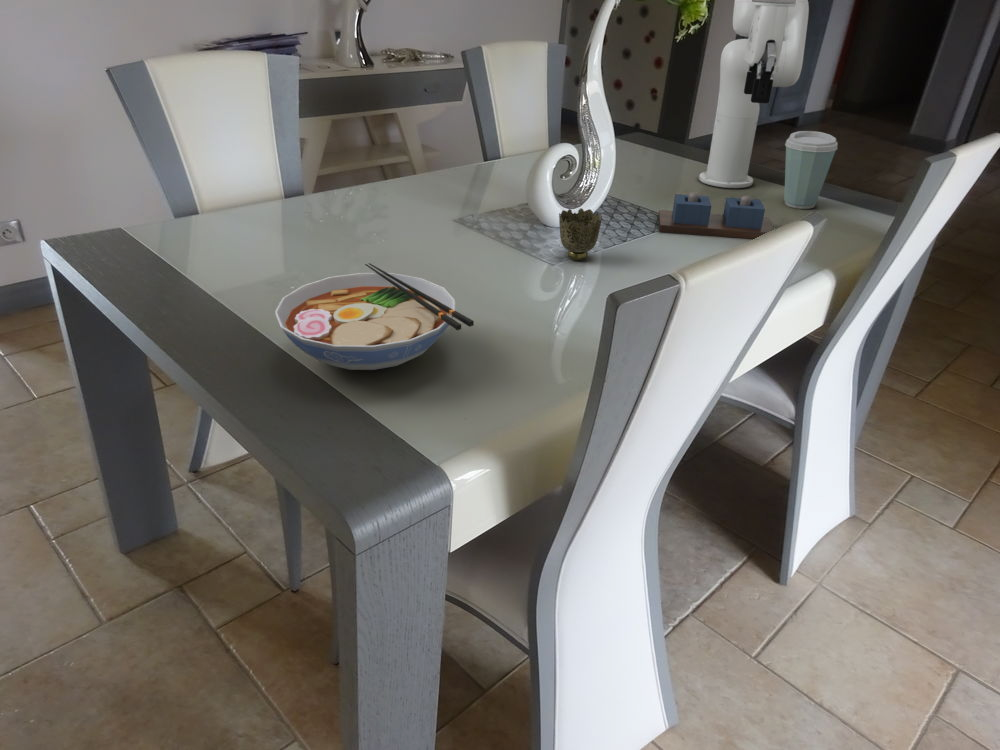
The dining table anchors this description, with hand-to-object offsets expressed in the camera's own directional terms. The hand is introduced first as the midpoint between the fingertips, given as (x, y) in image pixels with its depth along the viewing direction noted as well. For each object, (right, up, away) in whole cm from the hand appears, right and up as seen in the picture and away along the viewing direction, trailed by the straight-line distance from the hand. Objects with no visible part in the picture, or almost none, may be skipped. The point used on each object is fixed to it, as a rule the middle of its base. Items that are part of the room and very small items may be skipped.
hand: (755, 98), depth 140 cm
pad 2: (0, -22, +8) cm, 23 cm away
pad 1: (-10, -21, +9) cm, 25 cm away
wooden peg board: (-5, -23, +9) cm, 25 cm away
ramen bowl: (-65, -50, -41) cm, 92 cm away
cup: (-34, -31, -8) cm, 47 cm away
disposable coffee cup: (+18, -15, +25) cm, 34 cm away
